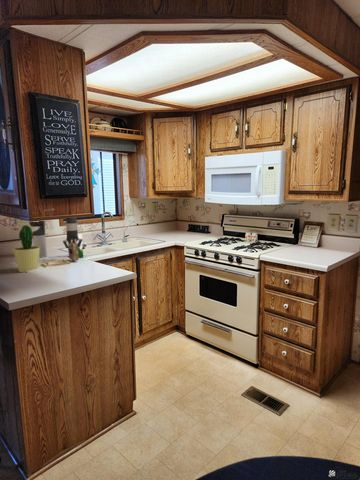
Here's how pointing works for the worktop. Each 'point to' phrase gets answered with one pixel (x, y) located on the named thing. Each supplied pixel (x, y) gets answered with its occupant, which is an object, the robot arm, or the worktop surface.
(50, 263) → the offcut upper
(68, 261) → the oak rack
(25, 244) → the potted cactus
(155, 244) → the worktop surface
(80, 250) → the milk carton
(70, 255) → the walnut board
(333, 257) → the worktop surface
